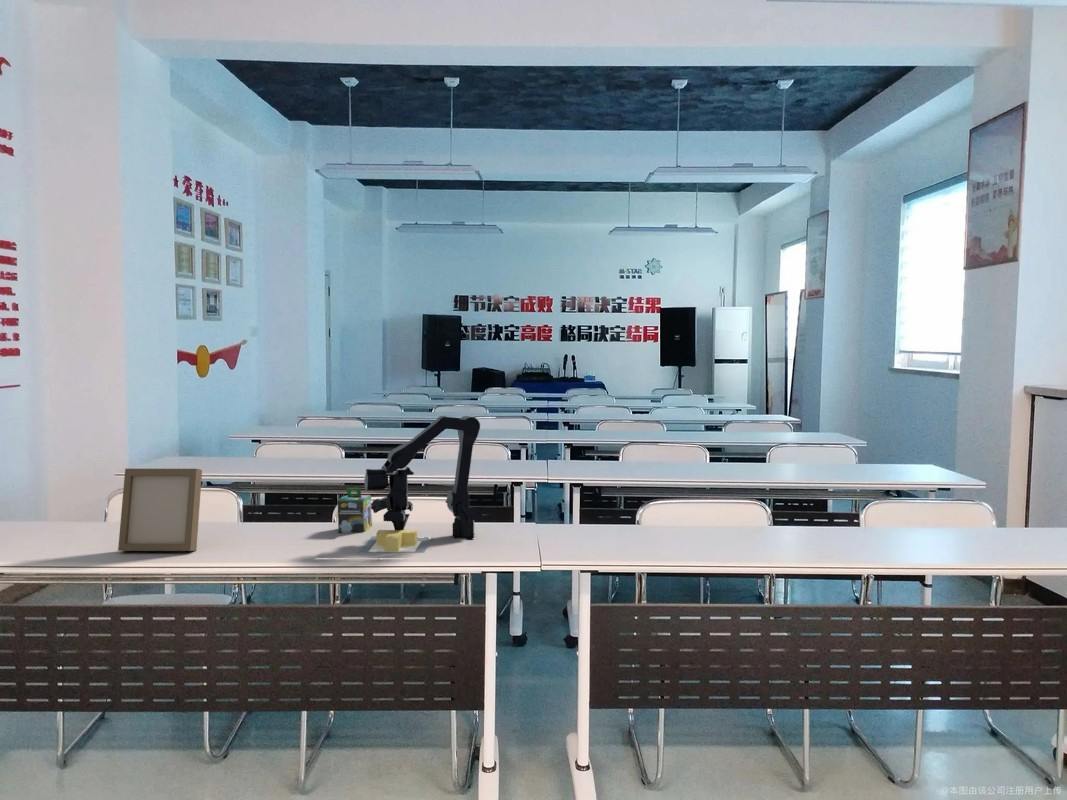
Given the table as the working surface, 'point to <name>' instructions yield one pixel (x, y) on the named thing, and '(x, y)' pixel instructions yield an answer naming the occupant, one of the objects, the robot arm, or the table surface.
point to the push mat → (418, 548)
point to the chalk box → (354, 512)
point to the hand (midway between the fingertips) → (398, 537)
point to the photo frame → (160, 510)
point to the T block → (396, 539)
